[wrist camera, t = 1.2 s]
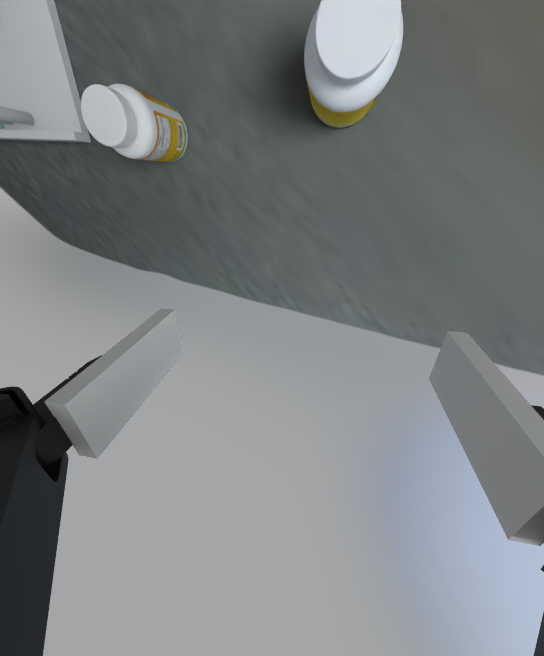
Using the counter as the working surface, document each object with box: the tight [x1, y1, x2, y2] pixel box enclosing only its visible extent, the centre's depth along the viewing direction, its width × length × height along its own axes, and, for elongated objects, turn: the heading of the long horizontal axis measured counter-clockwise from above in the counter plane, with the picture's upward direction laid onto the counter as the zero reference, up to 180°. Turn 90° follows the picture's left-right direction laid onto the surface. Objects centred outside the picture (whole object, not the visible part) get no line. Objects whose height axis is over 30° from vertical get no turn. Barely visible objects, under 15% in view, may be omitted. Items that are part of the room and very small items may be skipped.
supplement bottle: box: [81, 84, 188, 162], centre depth 25 cm, size 5×5×10 cm
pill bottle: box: [304, 0, 403, 129], centre depth 19 cm, size 6×6×12 cm
